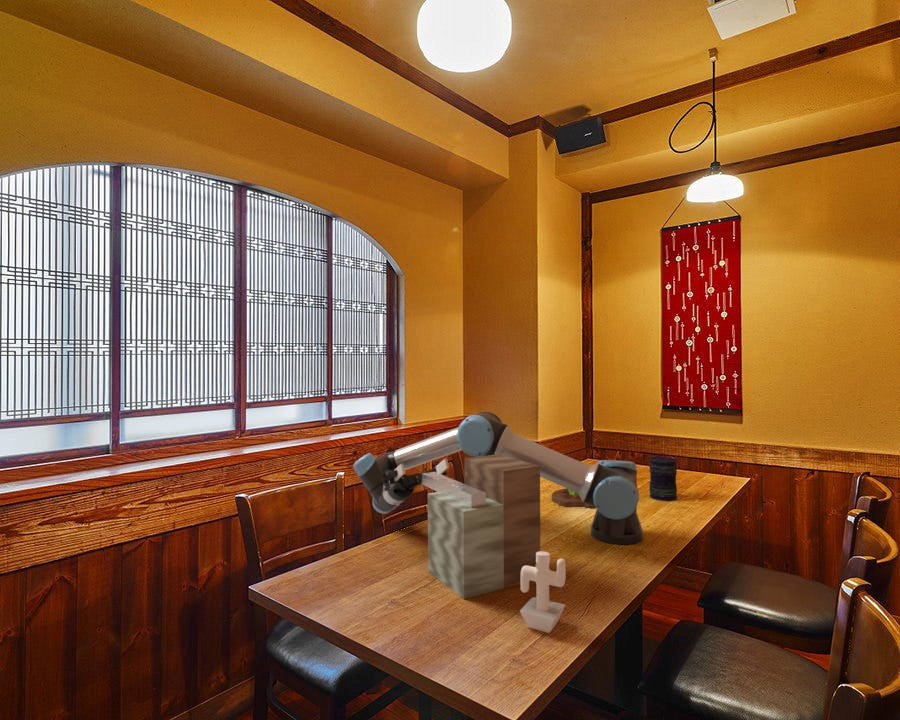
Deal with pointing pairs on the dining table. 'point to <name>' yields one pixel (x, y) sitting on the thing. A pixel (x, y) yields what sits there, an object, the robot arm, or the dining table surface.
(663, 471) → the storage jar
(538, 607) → the figurine
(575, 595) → the dining table surface
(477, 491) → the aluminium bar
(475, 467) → the two-step stand
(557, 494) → the plant
